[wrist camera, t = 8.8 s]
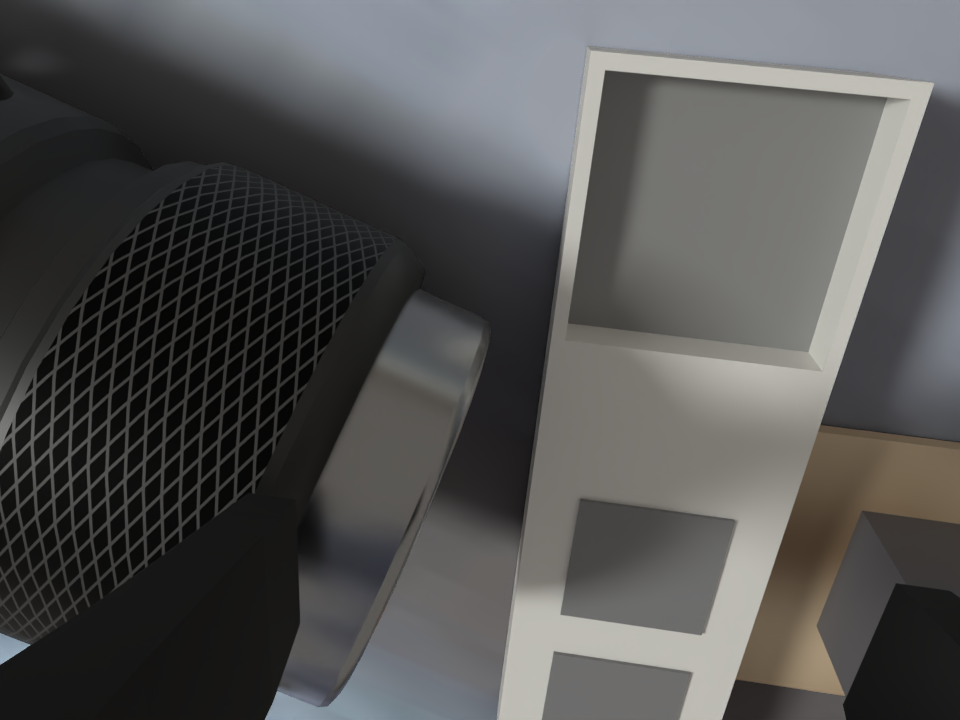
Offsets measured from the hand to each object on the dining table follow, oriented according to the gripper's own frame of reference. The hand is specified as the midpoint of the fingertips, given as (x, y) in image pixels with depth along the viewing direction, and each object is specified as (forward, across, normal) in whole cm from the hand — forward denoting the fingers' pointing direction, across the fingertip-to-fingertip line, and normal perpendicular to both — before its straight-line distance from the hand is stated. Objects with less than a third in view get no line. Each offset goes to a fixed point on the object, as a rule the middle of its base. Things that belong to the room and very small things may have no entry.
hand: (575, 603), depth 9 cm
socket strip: (+10, -2, +4) cm, 11 cm away
